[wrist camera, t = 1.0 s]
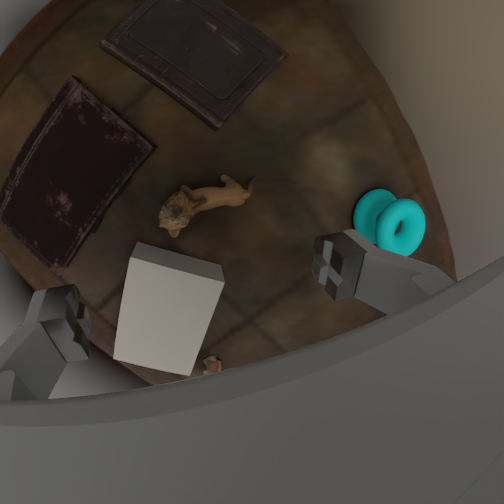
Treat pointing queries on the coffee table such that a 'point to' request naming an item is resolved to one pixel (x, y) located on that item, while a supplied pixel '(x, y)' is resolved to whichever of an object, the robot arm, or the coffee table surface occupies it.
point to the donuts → (389, 221)
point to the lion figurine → (200, 202)
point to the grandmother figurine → (212, 365)
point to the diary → (69, 174)
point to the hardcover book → (195, 53)
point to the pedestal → (166, 309)
